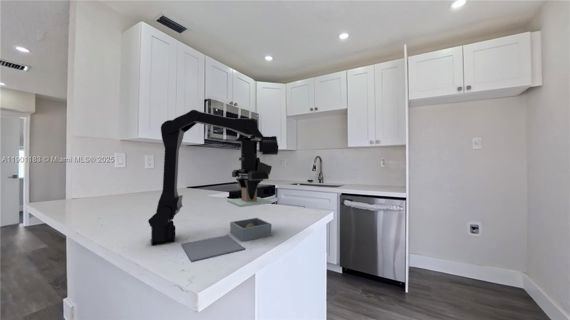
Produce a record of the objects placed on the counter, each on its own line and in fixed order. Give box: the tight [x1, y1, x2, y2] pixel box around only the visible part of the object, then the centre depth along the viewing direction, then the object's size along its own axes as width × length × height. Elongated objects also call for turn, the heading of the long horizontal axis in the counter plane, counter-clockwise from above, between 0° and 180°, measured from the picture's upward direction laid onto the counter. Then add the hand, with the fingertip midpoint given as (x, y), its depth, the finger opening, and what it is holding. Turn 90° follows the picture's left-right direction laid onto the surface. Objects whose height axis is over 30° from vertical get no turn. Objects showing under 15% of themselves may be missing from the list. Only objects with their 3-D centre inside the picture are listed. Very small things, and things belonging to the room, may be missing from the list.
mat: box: [180, 234, 246, 263], centre depth 70 cm, size 15×15×1 cm
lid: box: [226, 187, 273, 208], centre depth 82 cm, size 12×12×5 cm
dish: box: [229, 217, 272, 242], centre depth 82 cm, size 11×11×4 cm
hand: (249, 198), depth 82 cm, fingers closed on lid, 4 cm apart
